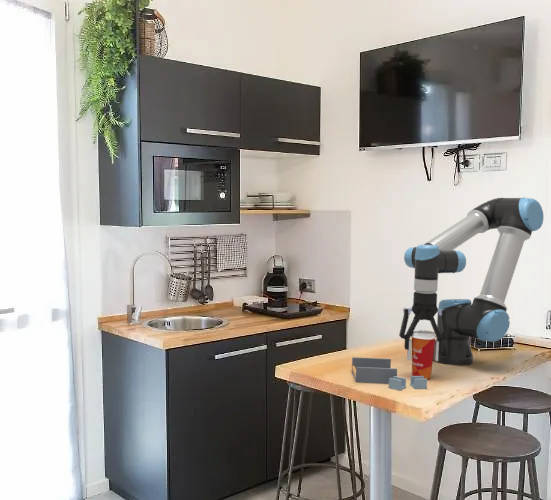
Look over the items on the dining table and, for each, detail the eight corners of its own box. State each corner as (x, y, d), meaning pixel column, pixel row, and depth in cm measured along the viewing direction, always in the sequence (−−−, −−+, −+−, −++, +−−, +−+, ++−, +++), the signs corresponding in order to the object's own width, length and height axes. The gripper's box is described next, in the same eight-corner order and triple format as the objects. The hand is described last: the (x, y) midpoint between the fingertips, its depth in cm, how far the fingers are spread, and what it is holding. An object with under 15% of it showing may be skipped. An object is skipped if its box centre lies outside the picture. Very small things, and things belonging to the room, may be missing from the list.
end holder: (389, 372, 206) (390, 358, 206) (396, 384, 192) (397, 369, 192) (351, 371, 206) (352, 357, 206) (355, 382, 193) (356, 367, 193)
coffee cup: (405, 373, 205) (407, 329, 204) (429, 373, 206) (431, 329, 205) (413, 380, 197) (415, 334, 195) (438, 380, 197) (440, 335, 196)
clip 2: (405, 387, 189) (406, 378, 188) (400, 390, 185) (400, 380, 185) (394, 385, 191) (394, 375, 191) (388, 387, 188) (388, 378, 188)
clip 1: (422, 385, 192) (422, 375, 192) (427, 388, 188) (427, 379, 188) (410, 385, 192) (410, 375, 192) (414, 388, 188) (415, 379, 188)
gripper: (454, 291, 202) (451, 358, 204) (391, 289, 203) (388, 355, 205) (460, 294, 195) (457, 363, 197) (395, 292, 196) (392, 361, 197)
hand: (422, 359), depth 201 cm, fingers closed on coffee cup, 8 cm apart
